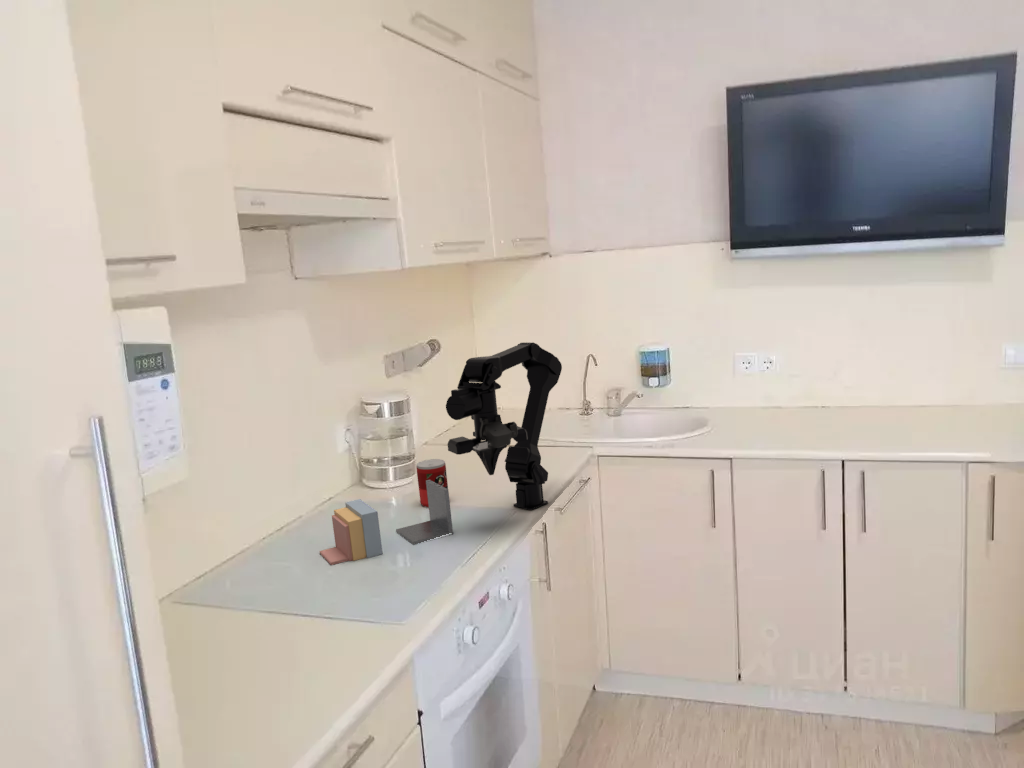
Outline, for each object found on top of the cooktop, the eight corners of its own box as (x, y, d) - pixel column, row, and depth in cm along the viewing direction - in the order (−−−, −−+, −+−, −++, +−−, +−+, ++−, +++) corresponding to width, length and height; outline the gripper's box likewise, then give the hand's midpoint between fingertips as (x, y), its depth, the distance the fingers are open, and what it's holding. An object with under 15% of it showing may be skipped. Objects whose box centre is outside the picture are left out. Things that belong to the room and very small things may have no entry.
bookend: (434, 522, 203) (429, 479, 201) (453, 534, 194) (448, 489, 192) (396, 532, 199) (391, 488, 197) (413, 545, 189) (408, 499, 187)
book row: (365, 539, 195) (360, 499, 194) (382, 553, 185) (377, 511, 183) (317, 551, 190) (312, 510, 188) (333, 567, 180) (327, 523, 178)
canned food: (430, 509, 213) (425, 468, 212) (415, 503, 220) (410, 463, 218) (455, 502, 218) (451, 461, 216) (439, 496, 224) (435, 457, 222)
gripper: (464, 422, 183) (471, 490, 185) (536, 408, 191) (542, 473, 194) (443, 415, 193) (450, 480, 195) (513, 402, 201) (518, 464, 204)
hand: (491, 474), depth 197 cm, fingers closed
